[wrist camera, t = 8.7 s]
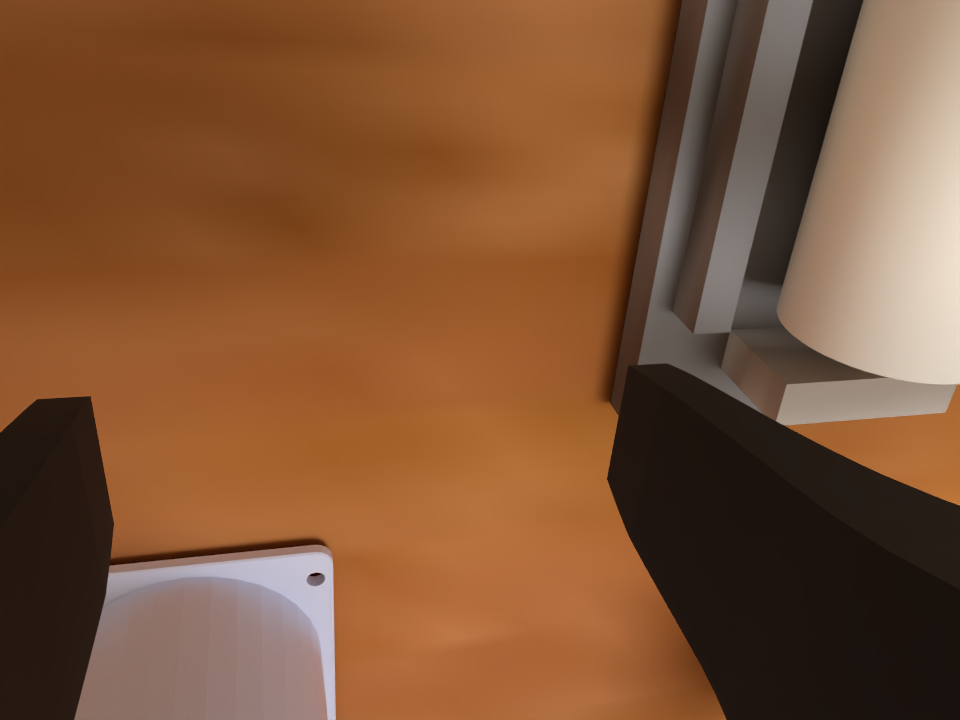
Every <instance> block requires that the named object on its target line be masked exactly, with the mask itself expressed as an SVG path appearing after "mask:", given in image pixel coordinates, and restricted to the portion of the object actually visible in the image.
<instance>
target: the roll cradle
mask: <svg viewBox="0 0 960 720" xmlns="http://www.w3.org/2000/svg"><path fill="white" fill-rule="evenodd" d="M862 3H863V0H682V5H681V10H680V16H679V21H678V27H677V33H676V38H675V44H674V49H673V55H672V61H671V66H670V72H669V77H668V83H667V89H666V94H665V100H664V105H663V111H662V117H661V122H660V128H659V133H658V139H657V144H656V150H655V156H654V161H653V167H652V172H651V178H650V184H649V189H648V195H647V200H646V206H645V212H644V217H643V223H642V228H641V234H640V240H639V245H638V251H637V256H636V262H635V267H634V273H633V279H632V284H631V290H630V295H629V301H628V307H627V312H626V318H625V323H624V329H623V335H622V340H621V346H620V351H619V357H618V363H617V368H616V374H615V379H614V385H613V390H612V396H611V402H610V403H611V405H612V406H613V408H614V409H615V411H616V412H617V414H618V415H619V412H620V407H621V402H622V396H623V391H624V386H625V380H626V375H627V370H628V366H629V365H646V364H664V363H668V364H670V365H672V366H675V367H677V368H679V369H681V370H683V371H686V372H688V373H690V374H692V375H693V376H695V377H697V378H699V379H701V380H703V381H705V382H707V383H708V384H710V385H712V386H714V387H716V388H718V389H719V390H721V391H723V392H725V393H726V394H728V395H730V396H732V397H734V398H735V399H737V400H739V401H741V402H743V403H744V404H746V405H748V406H750V407H751V408H753V409H755V410H757V411H759V412H760V413H762V414H764V415H766V416H768V417H769V418H771V419H773V420H775V421H777V422H778V423H780V424H782V425H795V424H807V423H820V422H833V421H845V420H858V419H871V418H883V417H896V416H908V415H921V414H934V413H945V412H946V410H947V407H948V405H949V403H950V400H951V398H952V395H953V393H954V391H955V388H956V386H957V384H947V385H941V384H925V383H916V382H909V381H904V380H898V379H893V378H889V377H884V376H880V375H877V374H873V373H869V372H866V371H863V370H860V369H857V368H854V367H851V366H848V365H846V364H843V363H841V362H838V361H836V360H834V359H832V358H829V357H827V356H825V355H823V354H821V353H819V352H817V351H816V350H814V349H812V348H810V347H809V346H807V345H805V344H804V343H802V342H801V341H800V340H798V339H797V338H796V337H794V336H793V335H792V334H791V333H790V332H789V331H788V330H787V329H786V328H785V327H784V326H783V324H782V323H781V322H780V320H779V318H778V315H777V304H778V301H779V297H780V293H781V290H782V286H783V283H784V279H785V276H786V272H787V269H788V265H789V262H790V258H791V254H792V251H793V247H794V244H795V240H796V237H797V233H798V230H799V226H800V223H801V219H802V215H803V212H804V208H805V205H806V201H807V198H808V194H809V191H810V187H811V184H812V180H813V176H814V173H815V169H816V166H817V162H818V159H819V155H820V152H821V148H822V145H823V141H824V137H825V134H826V130H827V127H828V123H829V120H830V116H831V113H832V109H833V106H834V102H835V98H836V95H837V91H838V88H839V84H840V81H841V77H842V74H843V70H844V67H845V63H846V59H847V56H848V52H849V49H850V45H851V42H852V38H853V35H854V31H855V28H856V24H857V20H858V17H859V13H860V10H861V6H862Z"/></svg>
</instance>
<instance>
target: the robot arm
mask: <svg viewBox="0 0 960 720" xmlns="http://www.w3.org/2000/svg"><path fill="white" fill-rule="evenodd" d="M607 480H608V483H609V486H610V488H611V491H612V494H613V497H614V499H615V502H616V505H617V508H618V510H619V513H620V515H621V518H622V520H623V523H624V525H625V528H626V530H627V533H628V535H629V537H630V539H631V541H632V543H633V545H634V547H635V549H636V550H637V552H638V554H639V556H640V558H641V559H642V561H643V563H644V565H645V567H646V569H647V570H648V572H649V574H650V576H651V578H652V579H653V581H654V583H655V585H656V586H657V588H658V590H659V592H660V593H661V595H662V597H663V599H664V601H665V602H666V604H667V606H668V608H669V609H670V611H671V613H672V615H673V616H674V618H675V620H676V622H677V623H678V625H679V627H680V629H681V630H682V632H683V634H684V636H685V638H686V639H687V641H688V643H689V645H690V646H691V648H692V650H693V652H694V653H695V655H696V657H697V659H698V660H699V662H700V664H701V666H702V668H703V670H704V672H705V674H706V676H707V678H708V680H709V682H710V684H711V686H712V688H713V690H714V692H715V694H716V696H717V698H718V701H719V703H720V705H721V708H722V710H723V712H724V715H725V717H726V719H727V720H960V506H959V505H956V504H953V503H951V502H948V501H945V500H943V499H940V498H937V497H935V496H933V495H930V494H928V493H925V492H923V491H920V490H918V489H916V488H913V487H911V486H908V485H906V484H904V483H901V482H899V481H896V480H894V479H891V478H889V477H887V476H884V475H882V474H880V473H878V472H876V471H873V470H871V469H869V468H867V467H865V466H862V465H860V464H858V463H856V462H854V461H852V460H850V459H848V458H846V457H844V456H842V455H840V454H838V453H836V452H834V451H832V450H830V449H828V448H826V447H824V446H822V445H820V444H818V443H816V442H814V441H812V440H810V439H808V438H806V437H804V436H803V435H801V434H799V433H797V432H795V431H793V430H791V429H789V428H788V427H786V426H784V425H782V424H780V423H778V422H777V421H775V420H773V419H771V418H769V417H768V416H766V415H764V414H762V413H760V412H759V411H757V410H755V409H753V408H751V407H750V406H748V405H746V404H744V403H743V402H741V401H739V400H737V399H735V398H734V397H732V396H730V395H728V394H726V393H725V392H723V391H721V390H719V389H718V388H716V387H714V386H712V385H710V384H708V383H707V382H705V381H703V380H701V379H699V378H697V377H695V376H693V375H692V374H690V373H688V372H686V371H683V370H681V369H679V368H677V367H675V366H672V365H670V364H668V363H664V364H646V365H629V366H628V370H627V375H626V380H625V386H624V391H623V396H622V402H621V407H620V412H619V418H618V423H617V429H616V434H615V439H614V445H613V450H612V455H611V461H610V466H609V471H608V477H607ZM113 527H114V522H113V517H112V511H111V506H110V500H109V495H108V489H107V484H106V478H105V473H104V467H103V462H102V457H101V451H100V446H99V440H98V435H97V429H96V424H95V418H94V413H93V407H92V402H91V396H89V397H71V398H54V399H37V400H36V401H35V402H34V403H32V404H31V405H30V406H29V407H28V408H27V409H26V410H24V411H23V412H22V413H21V414H20V415H19V416H18V417H17V418H16V419H15V420H14V421H13V422H11V423H10V424H9V425H8V426H7V427H6V428H5V429H4V430H3V431H2V432H1V433H0V720H336V711H335V651H334V590H333V559H332V554H331V551H330V550H329V549H328V548H327V547H325V546H322V545H307V546H298V547H288V548H278V549H268V550H258V551H248V552H239V553H229V554H219V555H209V556H199V557H190V558H180V559H170V560H160V561H150V562H141V563H131V564H121V565H111V566H110V557H111V547H112V537H113ZM315 572H316V573H321V574H320V575H318V576H309V575H310V574H312V573H315Z"/></svg>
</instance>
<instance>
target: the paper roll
mask: <svg viewBox="0 0 960 720" xmlns="http://www.w3.org/2000/svg"><path fill="white" fill-rule="evenodd" d="M777 315H778V318H779V320H780V322H781V323H782V324H783V326H784V327H785V328H786V329H787V330H788V331H789V332H790V333H791V334H792V335H793V336H794V337H796V338H797V339H798V340H800V341H801V342H802V343H804V344H805V345H807V346H809V347H810V348H812V349H814V350H816V351H817V352H819V353H821V354H823V355H825V356H827V357H829V358H832V359H834V360H836V361H838V362H841V363H843V364H846V365H848V366H851V367H854V368H857V369H860V370H863V371H866V372H869V373H873V374H877V375H880V376H884V377H889V378H893V379H898V380H904V381H909V382H916V383H925V384H941V385H947V384H960V0H863V3H862V6H861V10H860V13H859V17H858V20H857V24H856V28H855V31H854V35H853V38H852V42H851V45H850V49H849V52H848V56H847V59H846V63H845V67H844V70H843V74H842V77H841V81H840V84H839V88H838V91H837V95H836V98H835V102H834V106H833V109H832V113H831V116H830V120H829V123H828V127H827V130H826V134H825V137H824V141H823V145H822V148H821V152H820V155H819V159H818V162H817V166H816V169H815V173H814V176H813V180H812V184H811V187H810V191H809V194H808V198H807V201H806V205H805V208H804V212H803V215H802V219H801V223H800V226H799V230H798V233H797V237H796V240H795V244H794V247H793V251H792V254H791V258H790V262H789V265H788V269H787V272H786V276H785V279H784V283H783V286H782V290H781V293H780V297H779V301H778V304H777Z"/></svg>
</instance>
